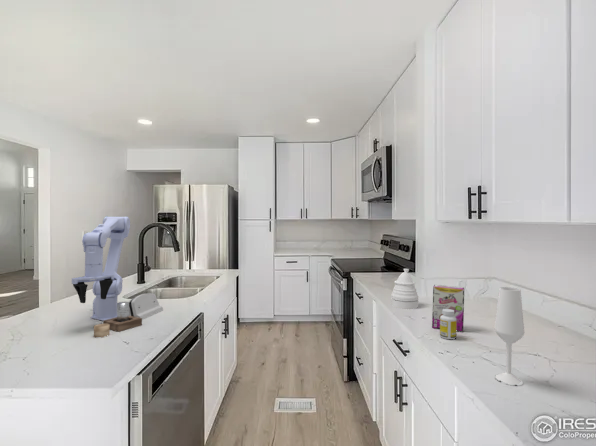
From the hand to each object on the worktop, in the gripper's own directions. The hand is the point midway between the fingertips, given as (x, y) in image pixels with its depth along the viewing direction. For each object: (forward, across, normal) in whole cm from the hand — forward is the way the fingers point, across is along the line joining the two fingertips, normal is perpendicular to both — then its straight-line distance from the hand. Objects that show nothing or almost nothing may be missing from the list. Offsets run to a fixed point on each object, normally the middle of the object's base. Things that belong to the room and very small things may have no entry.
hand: (93, 300), depth 127 cm
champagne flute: (+12, +31, -134) cm, 137 cm away
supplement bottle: (+11, +59, -116) cm, 131 cm away
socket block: (+10, +8, -6) cm, 14 cm away
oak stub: (+11, -2, -10) cm, 15 cm away
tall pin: (+10, +8, -7) cm, 14 cm away
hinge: (+10, +22, 0) cm, 25 cm away
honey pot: (+10, +98, -93) cm, 136 cm away
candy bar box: (+11, +70, -116) cm, 135 cm away
